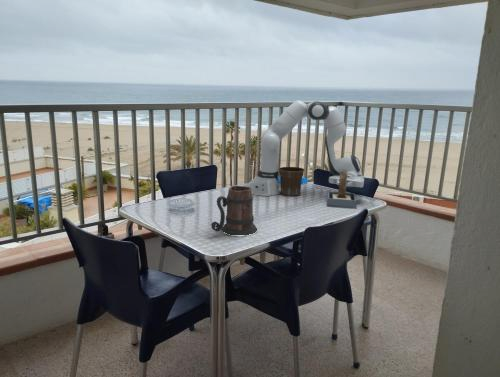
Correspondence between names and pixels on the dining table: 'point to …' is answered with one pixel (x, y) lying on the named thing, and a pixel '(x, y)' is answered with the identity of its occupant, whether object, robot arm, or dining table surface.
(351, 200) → the tray
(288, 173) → the plant pot
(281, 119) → the robot arm
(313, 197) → the dining table surface
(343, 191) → the peg
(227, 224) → the tankard
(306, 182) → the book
